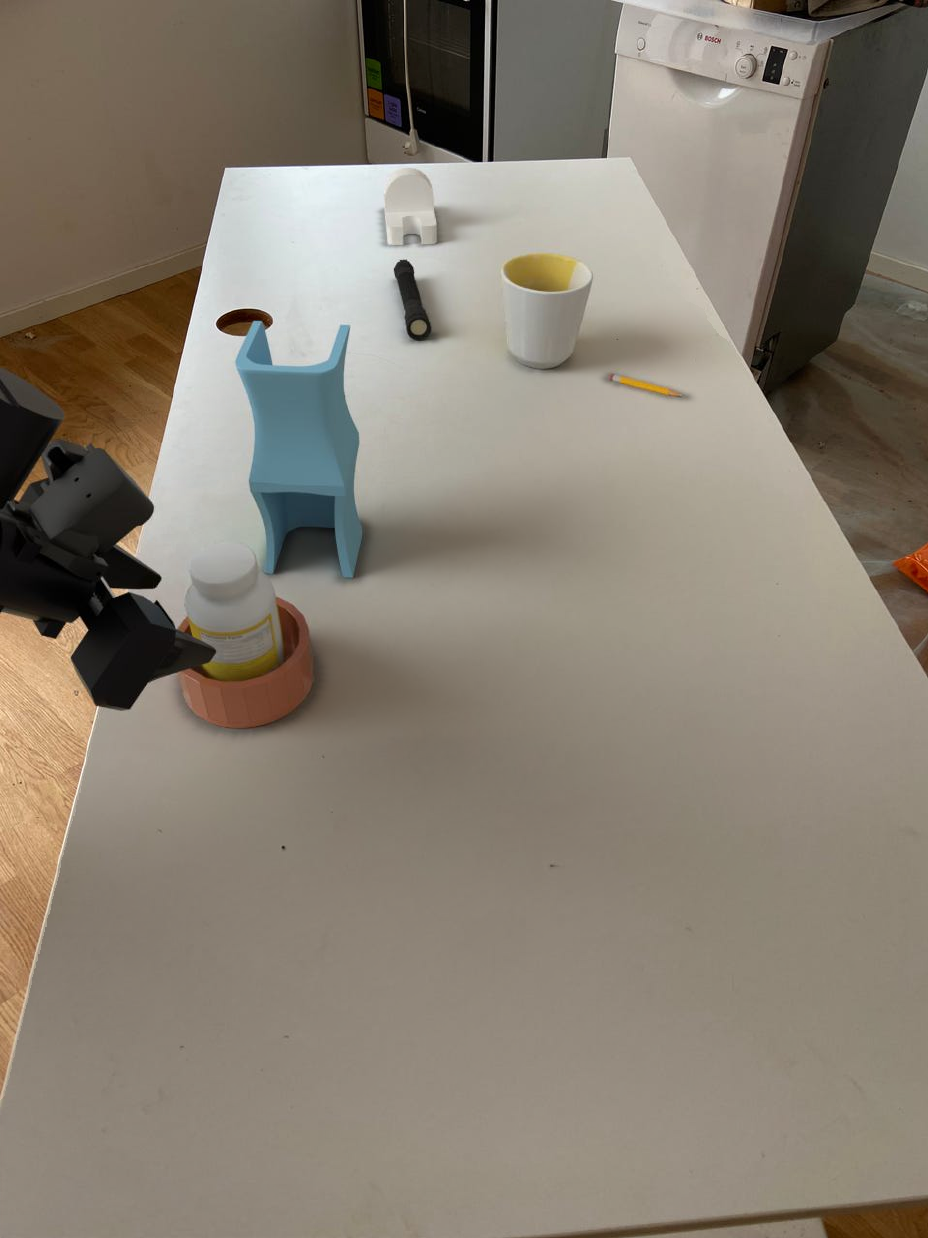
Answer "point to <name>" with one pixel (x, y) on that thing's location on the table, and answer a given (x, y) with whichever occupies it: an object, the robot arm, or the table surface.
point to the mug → (544, 306)
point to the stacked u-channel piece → (302, 446)
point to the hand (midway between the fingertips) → (184, 617)
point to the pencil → (643, 385)
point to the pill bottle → (234, 612)
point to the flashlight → (412, 302)
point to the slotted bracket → (409, 207)
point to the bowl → (255, 681)
